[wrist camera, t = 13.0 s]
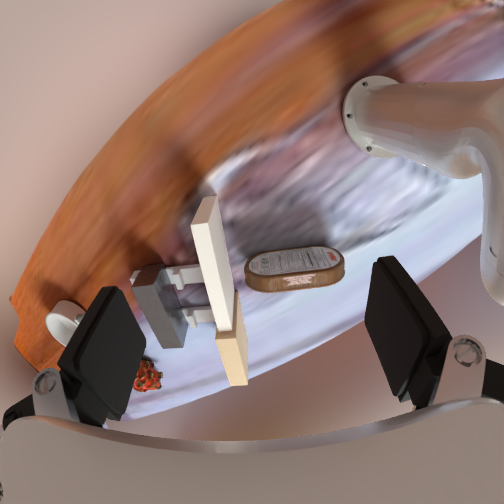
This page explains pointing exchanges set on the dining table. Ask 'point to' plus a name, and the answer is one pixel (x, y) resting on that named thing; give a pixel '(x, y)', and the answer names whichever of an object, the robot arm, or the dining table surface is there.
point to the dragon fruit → (147, 377)
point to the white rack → (215, 290)
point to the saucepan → (64, 320)
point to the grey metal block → (160, 305)
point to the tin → (294, 269)
